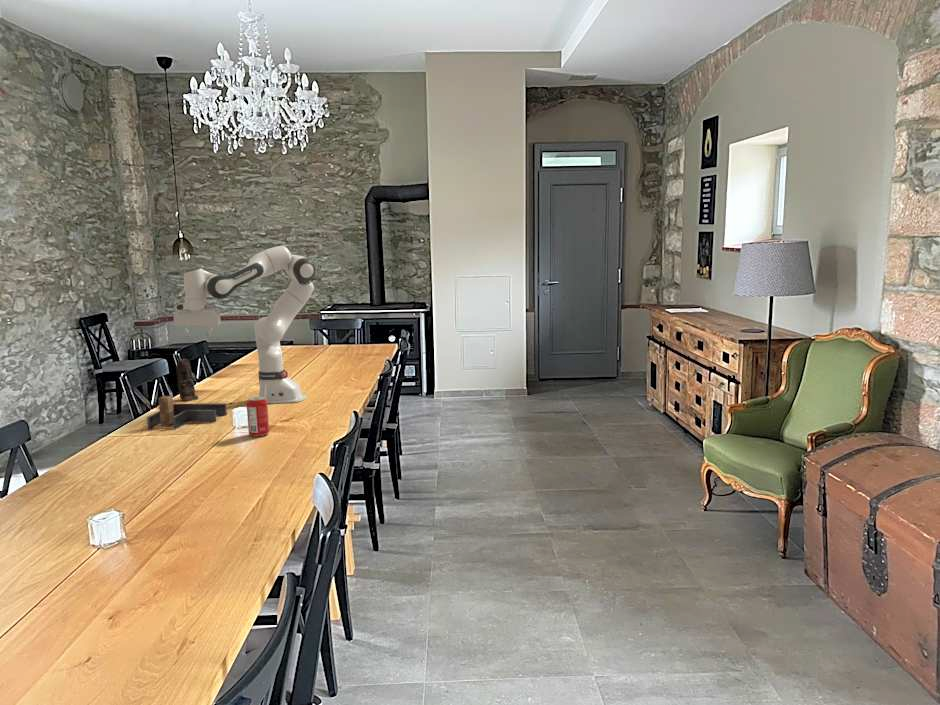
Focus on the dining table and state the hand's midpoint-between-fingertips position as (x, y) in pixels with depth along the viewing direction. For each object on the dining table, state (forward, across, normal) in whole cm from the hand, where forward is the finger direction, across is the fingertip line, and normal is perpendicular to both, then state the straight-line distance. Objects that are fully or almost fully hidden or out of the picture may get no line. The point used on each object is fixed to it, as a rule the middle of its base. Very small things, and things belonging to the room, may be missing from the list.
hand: (198, 336), depth 323 cm
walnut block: (+34, +5, +25) cm, 42 cm away
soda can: (+34, -39, +38) cm, 64 cm away
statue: (+34, +18, -22) cm, 45 cm away
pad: (+34, +5, +25) cm, 43 cm away
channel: (+34, -1, +18) cm, 39 cm away
